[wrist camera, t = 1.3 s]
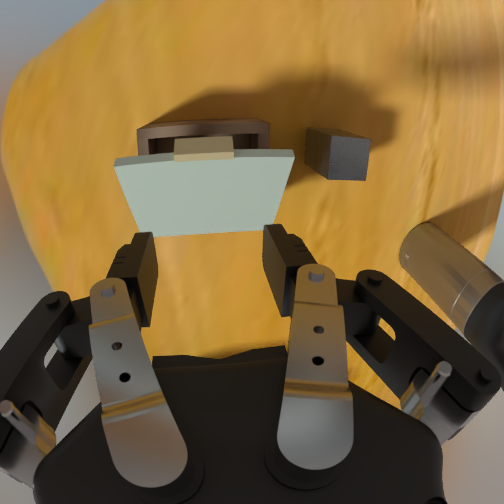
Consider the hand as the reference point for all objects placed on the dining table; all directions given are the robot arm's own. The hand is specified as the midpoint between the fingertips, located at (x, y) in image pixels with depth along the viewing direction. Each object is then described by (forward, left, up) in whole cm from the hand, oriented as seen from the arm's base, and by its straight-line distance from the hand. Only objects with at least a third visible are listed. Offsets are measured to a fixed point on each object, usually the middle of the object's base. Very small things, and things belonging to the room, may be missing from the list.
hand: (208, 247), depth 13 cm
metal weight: (-14, -1, -21) cm, 26 cm away
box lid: (0, +1, -13) cm, 13 cm away
